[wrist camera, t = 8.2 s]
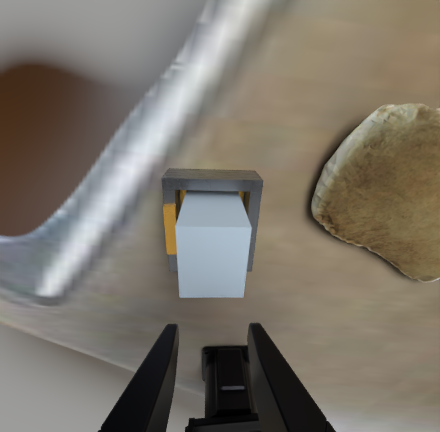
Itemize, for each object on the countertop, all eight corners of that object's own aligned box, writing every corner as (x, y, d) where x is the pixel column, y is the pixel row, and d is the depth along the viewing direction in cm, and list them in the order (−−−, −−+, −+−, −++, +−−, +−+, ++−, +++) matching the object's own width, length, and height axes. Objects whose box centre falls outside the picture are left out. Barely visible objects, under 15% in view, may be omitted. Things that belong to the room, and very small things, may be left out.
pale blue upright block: (233, 244, 19) (243, 297, 13) (188, 244, 19) (179, 297, 13) (238, 191, 17) (251, 227, 11) (186, 189, 16) (175, 226, 11)
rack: (246, 251, 20) (252, 273, 17) (174, 251, 20) (168, 273, 17) (255, 170, 17) (264, 181, 14) (168, 168, 17) (160, 179, 14)
